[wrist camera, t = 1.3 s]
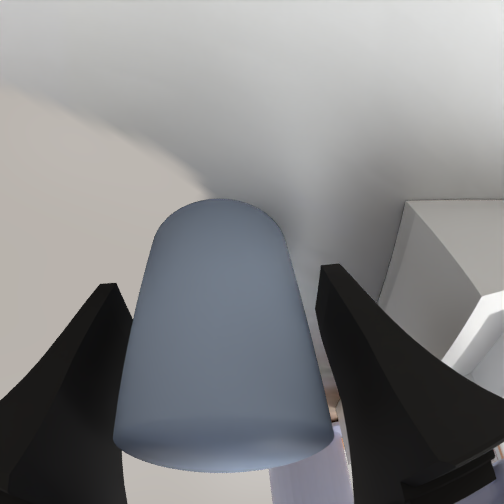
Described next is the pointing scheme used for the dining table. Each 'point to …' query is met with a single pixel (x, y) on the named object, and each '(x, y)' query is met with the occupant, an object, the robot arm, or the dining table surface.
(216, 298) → the blue cylinder
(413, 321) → the tote
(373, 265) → the dining table surface
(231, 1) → the dining table surface
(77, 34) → the dining table surface
